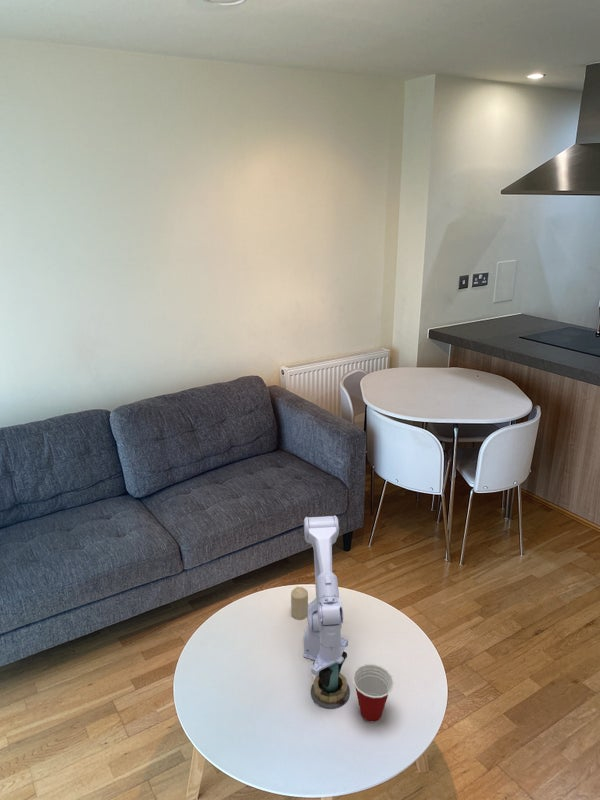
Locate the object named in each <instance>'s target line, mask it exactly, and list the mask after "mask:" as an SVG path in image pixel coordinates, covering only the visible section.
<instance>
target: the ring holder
mask: <svg viewBox="0 0 600 800" xmlns="http://www.w3.org/2000/svg"><path fill="white" fill-rule="evenodd" d="M350 696H351V689H350V686H349V685H348V681H347V678H346V677H345V676H344V675H343V674H342V673H341V672H340V674H339V676H338V689H337V690H336V691H335V692H332V693H329V692H326V691H325V690H324V689H323V686H322V684H321V681H320V678H319V676H317V677H316V676H315V677H314V678H313V682H312V684H311V687H310V697H311V699H312V701H313V702H314V703H315V704H316V705H317V706H319V707H320V708H324V709H329V710H333V709H339V708H341V707H343V706H344V705H345V704H347V703H348V701H349V698H350Z"/></svg>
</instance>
